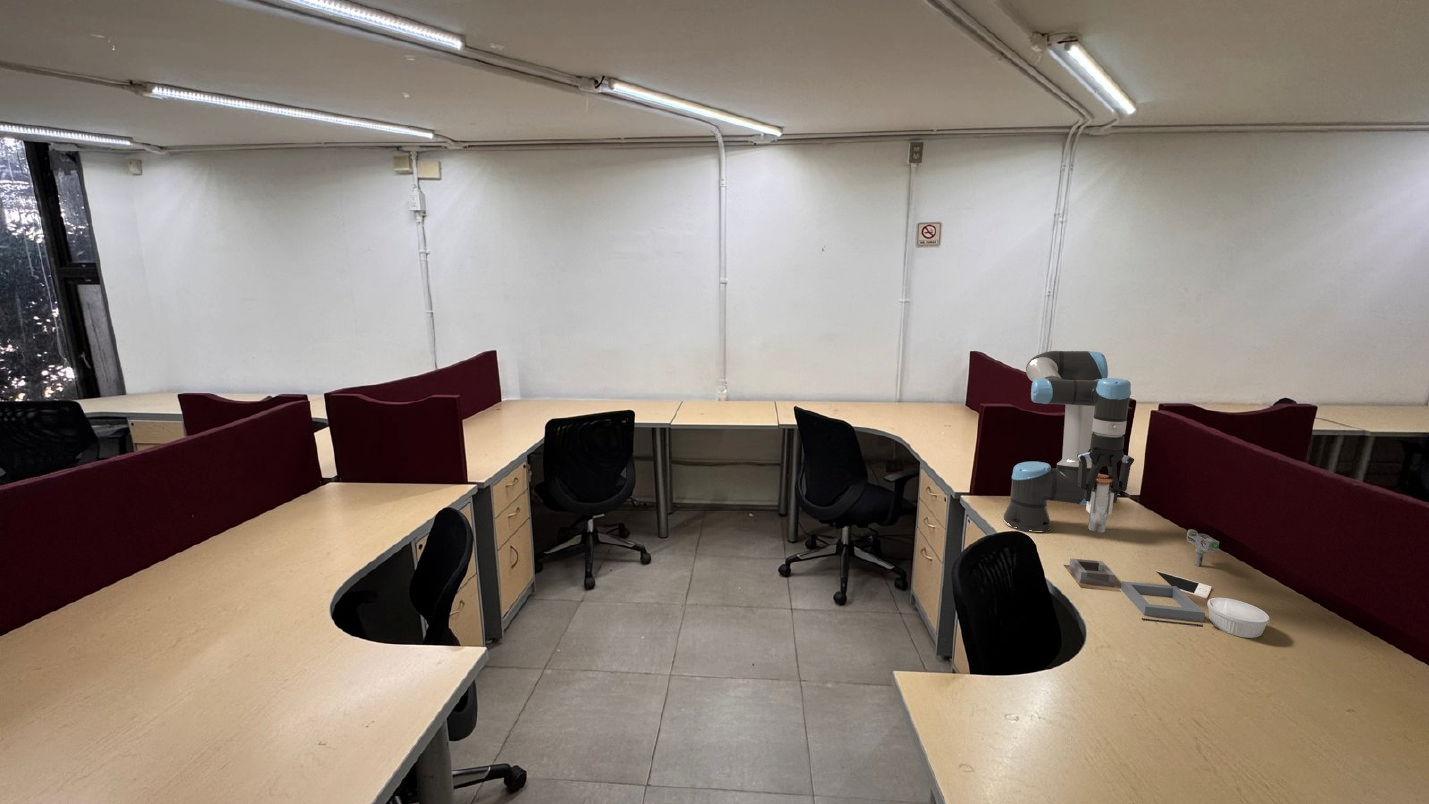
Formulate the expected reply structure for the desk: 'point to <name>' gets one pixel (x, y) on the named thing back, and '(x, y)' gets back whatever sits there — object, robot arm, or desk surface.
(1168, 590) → the tray
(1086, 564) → the block
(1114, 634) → the desk surface
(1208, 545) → the mechanical component
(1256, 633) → the ramekin
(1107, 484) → the glass jar with lid
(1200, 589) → the cell phone
